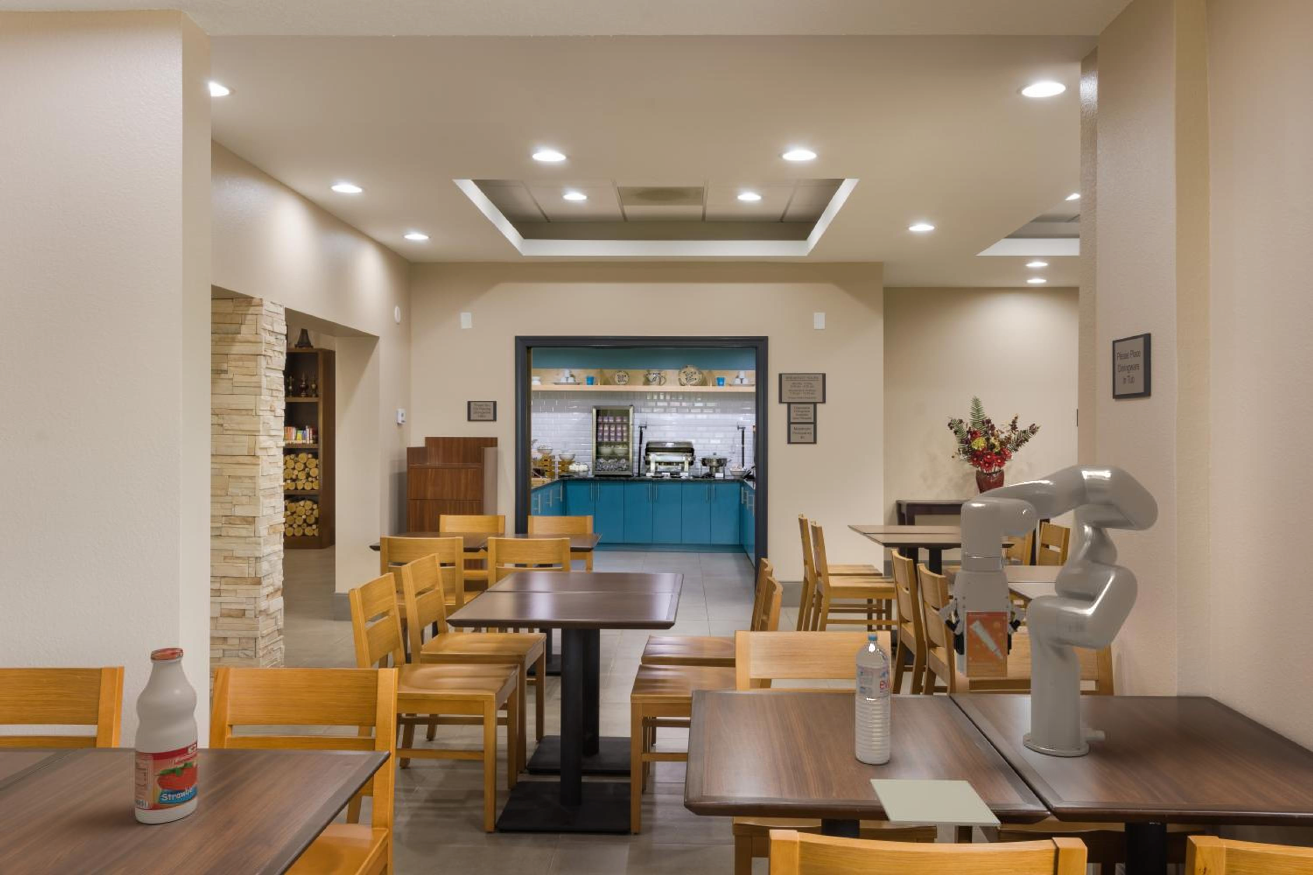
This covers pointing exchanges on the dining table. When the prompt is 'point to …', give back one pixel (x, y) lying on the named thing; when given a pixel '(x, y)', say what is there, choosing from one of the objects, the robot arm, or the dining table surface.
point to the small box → (984, 645)
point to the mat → (932, 803)
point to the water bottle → (872, 703)
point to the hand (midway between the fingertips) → (982, 652)
